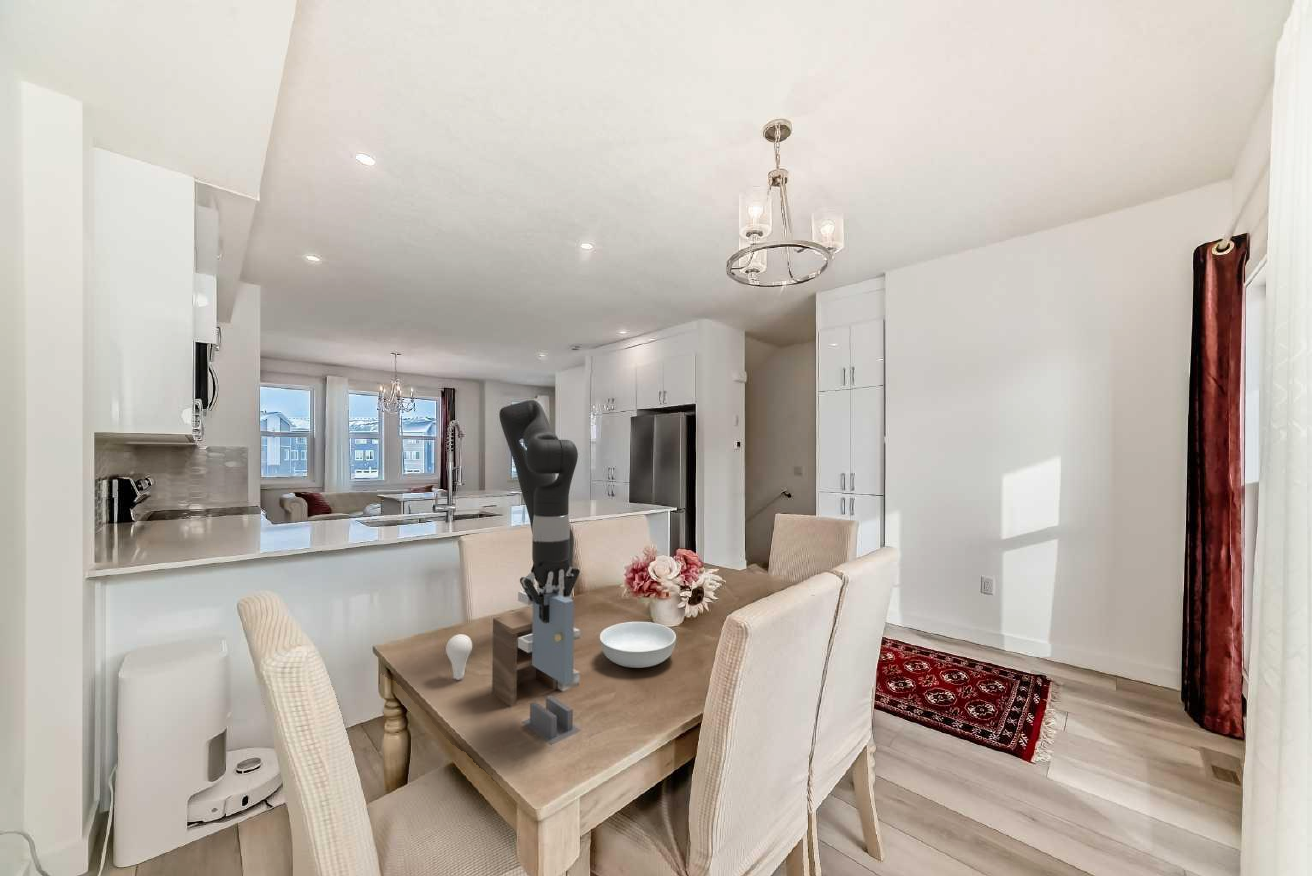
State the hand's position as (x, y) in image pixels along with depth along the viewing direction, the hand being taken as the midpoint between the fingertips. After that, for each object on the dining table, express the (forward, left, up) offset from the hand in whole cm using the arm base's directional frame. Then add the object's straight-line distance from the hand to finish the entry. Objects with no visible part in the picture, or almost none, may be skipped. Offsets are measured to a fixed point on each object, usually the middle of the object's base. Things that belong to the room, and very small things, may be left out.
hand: (550, 620), depth 105 cm
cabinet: (-6, -15, -22) cm, 28 cm away
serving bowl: (-36, -12, -23) cm, 44 cm away
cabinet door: (0, -1, -11) cm, 11 cm away
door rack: (0, +1, -22) cm, 22 cm away
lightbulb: (+4, -34, -23) cm, 41 cm away
